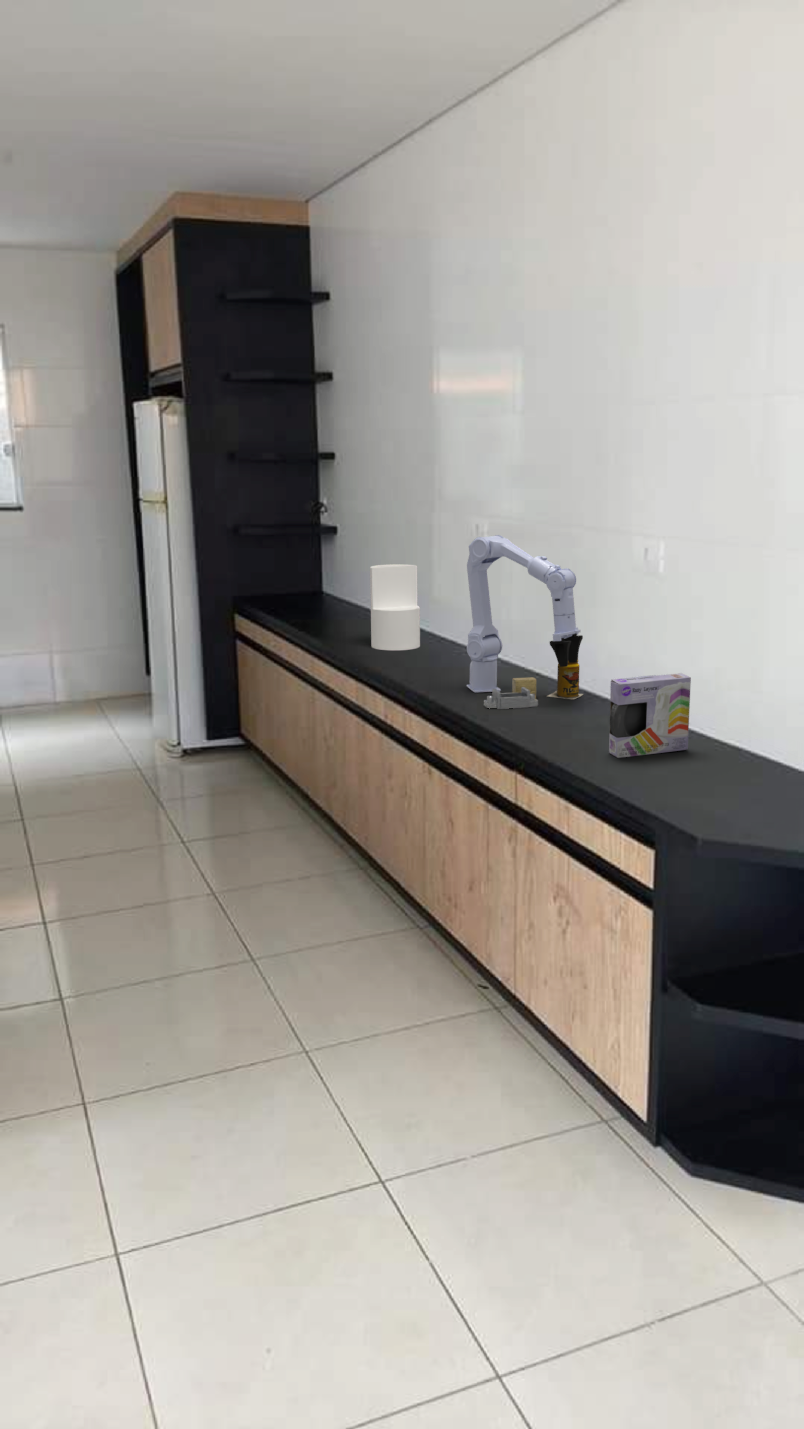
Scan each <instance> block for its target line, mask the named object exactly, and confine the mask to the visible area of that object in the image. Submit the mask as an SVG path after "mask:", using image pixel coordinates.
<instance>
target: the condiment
mask: <svg viewBox="0 0 804 1429" xmlns="http://www.w3.org/2000/svg"><path fill="white" fill-rule="evenodd" d="M556 677H557V683H556V690H555V691H554V692H552V693H550V694H548V695H547V697H550V698H558V699H565V700H576V699H577V698H580V697H582V696H583V695H584V693H579V692H580V664H579V659H578V660H577V662H576V663H569V661H568V666H567V667H560V666H559V664H558V663H557V676H556Z"/></svg>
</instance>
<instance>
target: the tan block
mask: <svg viewBox="0 0 804 1429" xmlns="http://www.w3.org/2000/svg"><path fill="white" fill-rule="evenodd" d="M511 683H512V689H511V693H515V692H521V687H525V688H527V689H528V690H529V691H530V693H533V694H535V699H537V678H535V677H531V676H530V677H513V678H512V682H511Z"/></svg>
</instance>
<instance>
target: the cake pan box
mask: <svg viewBox="0 0 804 1429" xmlns="http://www.w3.org/2000/svg"><path fill="white" fill-rule="evenodd" d="M691 680H692V678H691V677H690V676H689V675H687V674H685V673H682V672H679V673H671V674H668V673H667V674H661V675H660V674H659V675H658V674H657V675H656V674H653V675H642V676H641V675H640V676H639V675H638V676H634V677H633V676H632V677H622V678H612V679H611V680H610V695H609V696H610V701H609V702H610V706H609V707H610V711H609V712H610V714H609V736H608V737H609V739H608V740H609V741H608V742H609V743H608V754H610V755H611V756H613V757H615V758H618V759H620V758H626V757H627V758H631V757H637V756H645V755H647V756H648V755H653V754H661V753H662V754H664V753H670V752H677V751H678V752H679V751H685V750H688V748H689V731H690V730H689V729H690V708H691V706H690V703H691V687H692V686H691V685H692V684H691V683H692V681H691Z"/></svg>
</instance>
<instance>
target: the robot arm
mask: <svg viewBox="0 0 804 1429" xmlns="http://www.w3.org/2000/svg"><path fill="white" fill-rule="evenodd" d="M468 553H469V555H468V558H467V563H466V571H467V581H468V590H469V599H470V600H469V601H470V607H471V618H472V628H471V630H470V631H469V633H468V634H467V644H466V652H467V655H468V656H469V657H470V664H469V684H466V688H468V689H469V690H471V691H472V692H473V693H491V692H492V689H497V690H498V691H499V692H501V691H502V689H501V688H500V687H498V685H497V684H498V682H497V681H498V680H497V679H498V659H499V654H501V652H502V650H503V643H502V640H501V638H500V635H499V630H498V628H496V627H495V626H494V625H493V620H492V617H493V616H492V608H491V599H490V598H491V597H490V589H489V588H490V587H489V580H488V569H489V568H490V567H491V566H492V565H493V563H495V561H497V560H498V561H499V559H501V558H503V557H505V558H507V559H509V560H511V561H513V562H514V563H516V564H518V565H521V566H522V567H525V568H527V569H526V570H527V572H528V575H530V576H531V577H533V578H535V579H536V580H538V581H540V582H541V583H544V584H545V585H546V588H547V589H548V591H549V592H550V597H551V601H552V612H553V614H552V615H553V624H554V632H553V634H552V640H550V641H549V646H550V647H551V649H552V651H553V652H554V654H555V656H556V659H557V660H556V661H557V665H558V664H559V666H560V667H567V666H568V661H569V663H576V662H577V660H578V661H579V651H580V647H581V644H582V641H583V638H584V637H583V635H582V634H580V633H581V629H579V627H577V624H576V621H577V620H576V610H575V600H574V598H575V597H574V587H575V586H576V584H577V577H576V574H575V573H574V571H573V570H572V569H570V568H567V567H566V568H562V567H561V565H559V564H555V563H553V562H551V561H549V560H548V557H547V556H545V555H541V556H540V555H537V556H533V555H531V554H530V553H528V552H526V551H525V550H523V549H522V548H520V547H519V546H517V545H516V544H515V543H513V542H511V540H510V539H509V538H507V537H504V536H503V535H500V534H495V535H491V536H478V537H476V538H474V539H473V540H472V541H471V542H470V544H469V545H468ZM579 634H580V635H579Z"/></svg>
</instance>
